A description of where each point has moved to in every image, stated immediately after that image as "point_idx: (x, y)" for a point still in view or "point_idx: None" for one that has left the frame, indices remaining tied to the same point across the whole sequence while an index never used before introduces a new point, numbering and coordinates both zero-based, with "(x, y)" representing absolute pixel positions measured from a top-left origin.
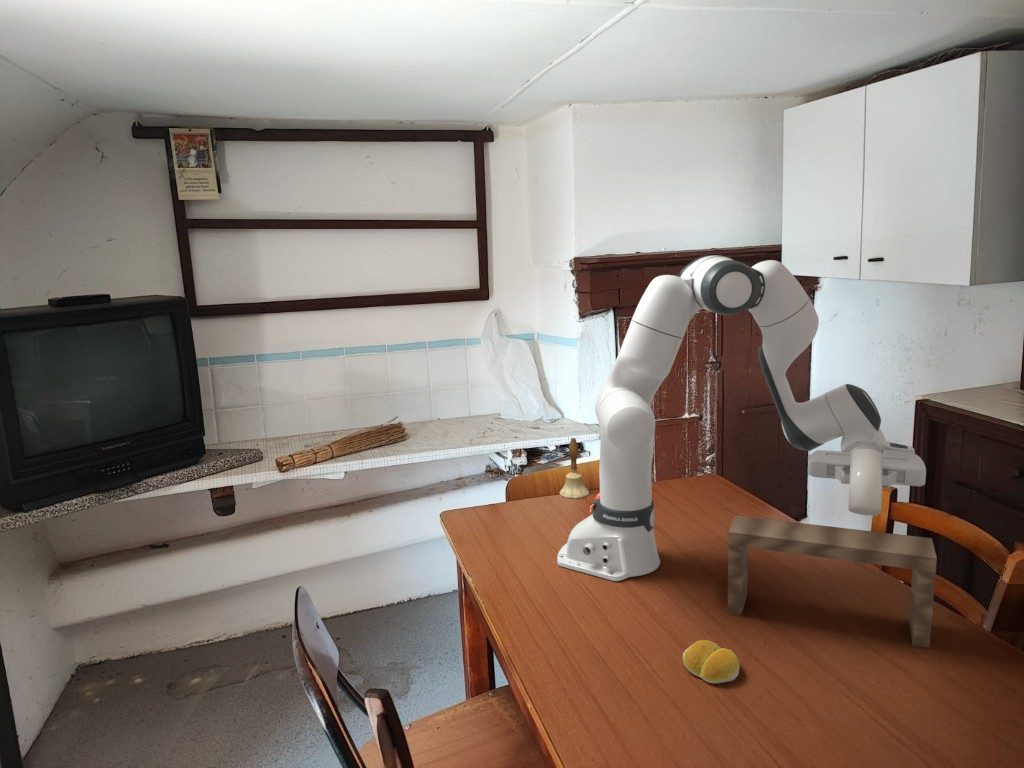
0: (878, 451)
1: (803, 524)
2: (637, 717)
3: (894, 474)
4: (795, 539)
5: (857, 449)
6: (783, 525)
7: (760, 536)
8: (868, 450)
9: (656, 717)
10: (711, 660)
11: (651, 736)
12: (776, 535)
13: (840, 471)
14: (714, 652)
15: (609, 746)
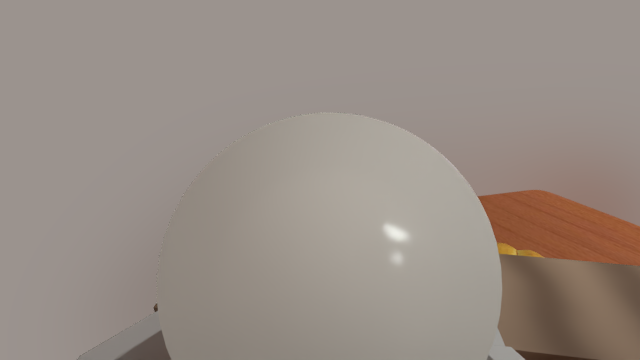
0: (237, 141)
1: (533, 343)
2: (527, 217)
3: (120, 334)
4: (504, 257)
5: (422, 141)
6: (585, 325)
7: (590, 262)
8: (328, 120)
9: (513, 219)
10: (508, 245)
11: (503, 206)
12: (557, 268)
13: (515, 351)
14: (513, 254)
15: (522, 197)
